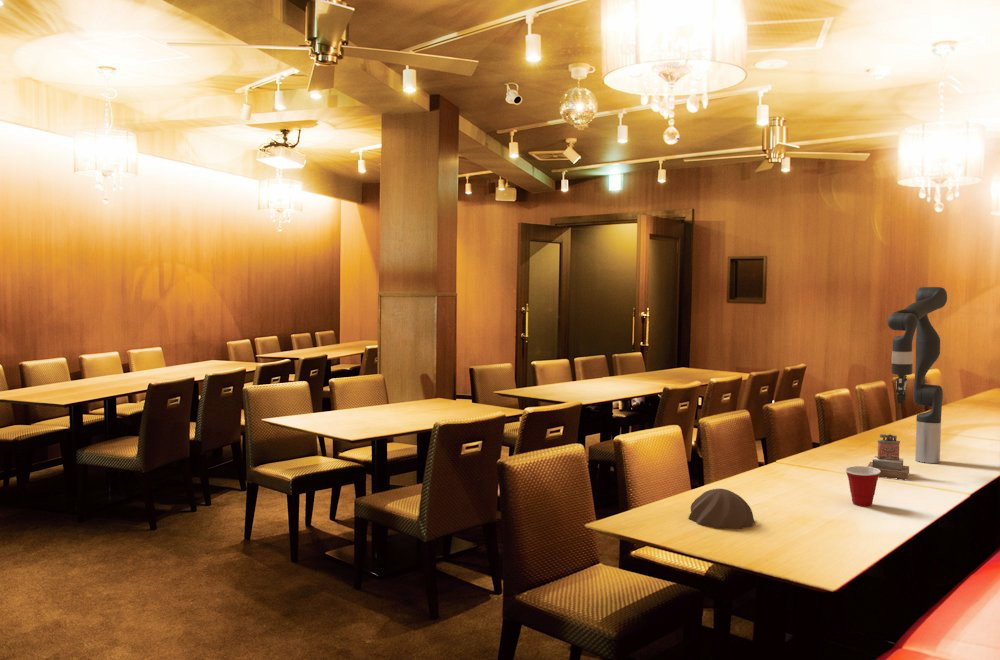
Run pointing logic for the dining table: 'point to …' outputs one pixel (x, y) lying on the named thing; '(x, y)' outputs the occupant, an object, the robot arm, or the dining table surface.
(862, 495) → the plastic cup
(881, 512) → the dining table surface
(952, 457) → the dining table surface
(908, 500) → the dining table surface
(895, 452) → the lighter
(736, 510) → the decorative dome
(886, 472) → the plinth
